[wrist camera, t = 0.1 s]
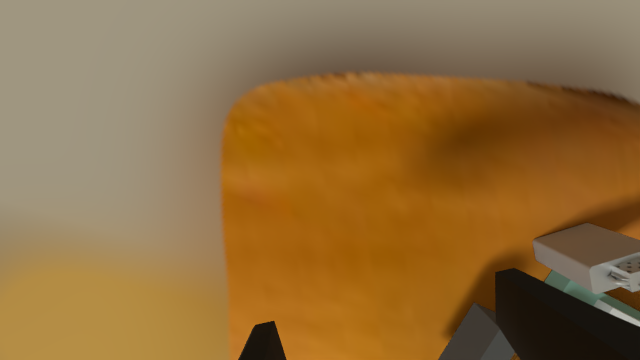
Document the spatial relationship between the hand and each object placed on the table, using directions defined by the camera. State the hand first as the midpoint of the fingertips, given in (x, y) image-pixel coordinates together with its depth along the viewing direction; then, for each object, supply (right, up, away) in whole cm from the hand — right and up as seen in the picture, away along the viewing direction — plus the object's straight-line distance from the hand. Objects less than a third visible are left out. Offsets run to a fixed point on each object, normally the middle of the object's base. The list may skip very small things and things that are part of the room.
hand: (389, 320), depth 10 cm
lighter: (+16, +1, +12) cm, 20 cm away
